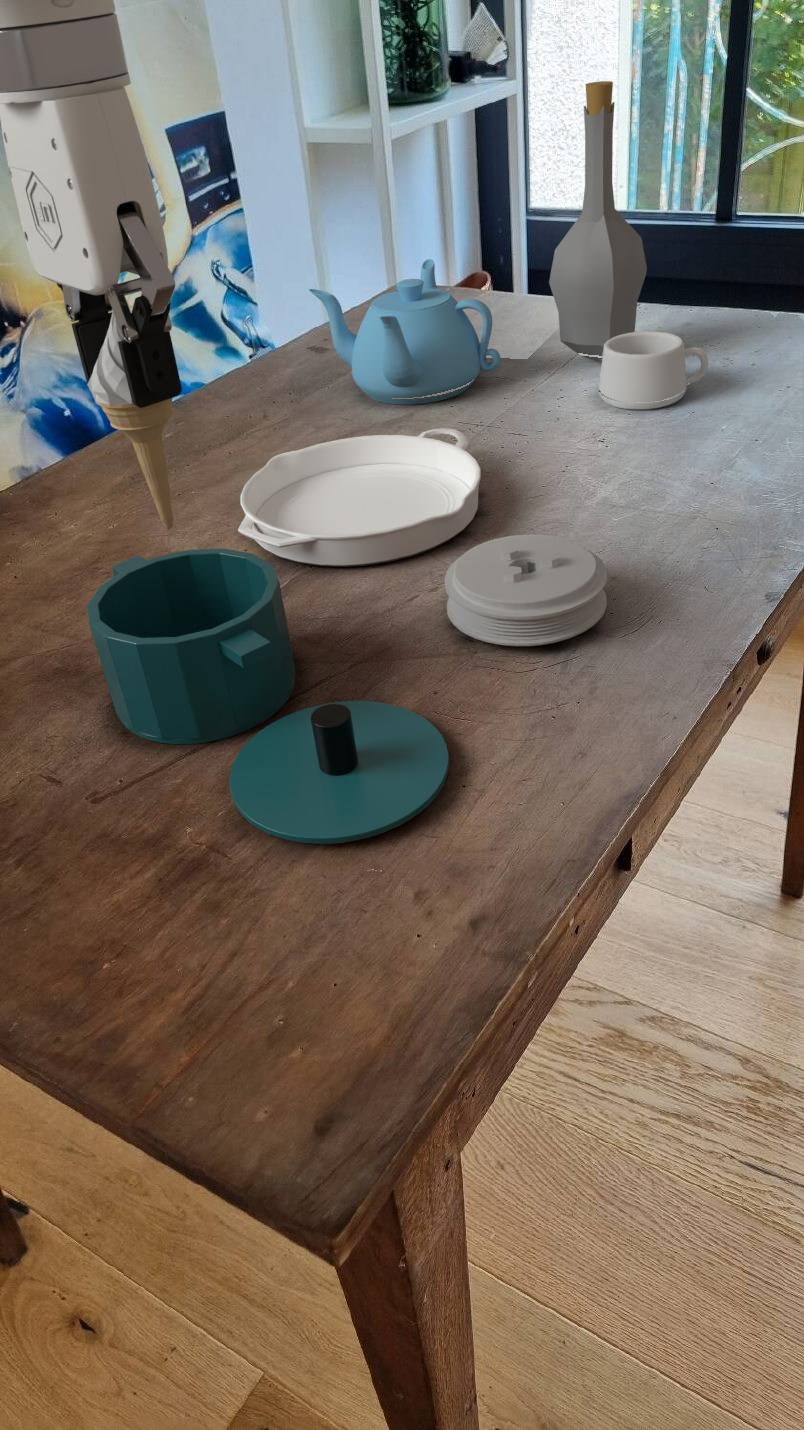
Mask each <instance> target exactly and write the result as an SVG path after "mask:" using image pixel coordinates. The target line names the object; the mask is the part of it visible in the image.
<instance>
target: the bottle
mask: <svg viewBox="0 0 804 1430" xmlns="http://www.w3.org/2000/svg"><path fill="white" fill-rule="evenodd" d="M613 85H614V82H613V81H611V80H602V81H594V82H593V81H592V82H588V83H586V84H585V95H586V96H585V97H586V98H585V99H586V100H585V101H586V105H584V106H583V120H584V121H583V122H584V192H583V199H582V200H583V201H582V211H581V214H580V215H579V217H578V218H577V219H576V220H575V222H574V223H573V225H572V226H571V227H570V229H569V230H568V232H567V233H566V234H565V236H564V237H563V238H562V240H560V242H559V243H558V245H557V247H556V248H555V249H554V253H553V259H552V263H551V270H550V274H549V280H548V284H549V287H550V290H551V293H552V296H553V300H554V303H555V306H556V309H557V313H558V314H557V315H558V326H559V327H558V328H559V339H560V340H559V341H560V343H562V344H563V345H565V346H566V347H568V348H569V349H570V350H572V351H573V352H575V353H576V354H578V353H583V354H588V355H599V356H603V349H604V344H605V343H606V342H607V341H608V340H610V339H611V338H613V337H616V336H618V335H622V334H626V333H632V332H636V321H637V308H638V300H639V297H640V294H641V291H642V287H643V285H644V282H645V278H646V276H647V271H648V266H647V262H646V256H645V255H646V254H645V251H644V245H643V238H642V237H641V235H640V234H639V233H638V232H637V231H636V230H635V229H634V227H632V226H631V224H630V223H629V222H628V221H627V220H626V219H625V218H624V217H623V216H622V215H621V213H620V212H619V211H618V210H617V209H616V206H615V195H614V186H613V185H614V184H613V157H614V155H613V154H614V153H613V151H614V150H613V149H614V146H613V142H614V141H613V139H614V137H613V136H614V134H613V133H614V120H615V119H614V118H615V104H616V103H615V101H613V90H614V89H613V87H614V86H613ZM581 357H582V358H584V359H588V360H590V361H594V362H598V363H599V362H600V361H602V358H598V357H589V356H581Z"/></svg>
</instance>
